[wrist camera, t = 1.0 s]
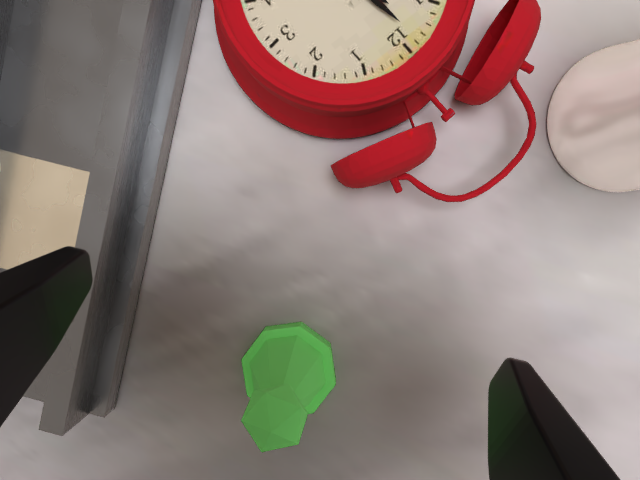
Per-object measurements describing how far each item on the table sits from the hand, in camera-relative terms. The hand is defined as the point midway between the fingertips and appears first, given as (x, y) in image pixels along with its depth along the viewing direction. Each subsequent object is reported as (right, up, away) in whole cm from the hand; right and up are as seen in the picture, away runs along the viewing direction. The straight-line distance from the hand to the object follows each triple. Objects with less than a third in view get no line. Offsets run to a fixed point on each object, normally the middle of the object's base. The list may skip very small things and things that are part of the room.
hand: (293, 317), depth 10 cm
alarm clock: (+3, +10, +10) cm, 14 cm away
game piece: (-1, -4, +12) cm, 12 cm away
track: (-11, +6, +11) cm, 17 cm away
